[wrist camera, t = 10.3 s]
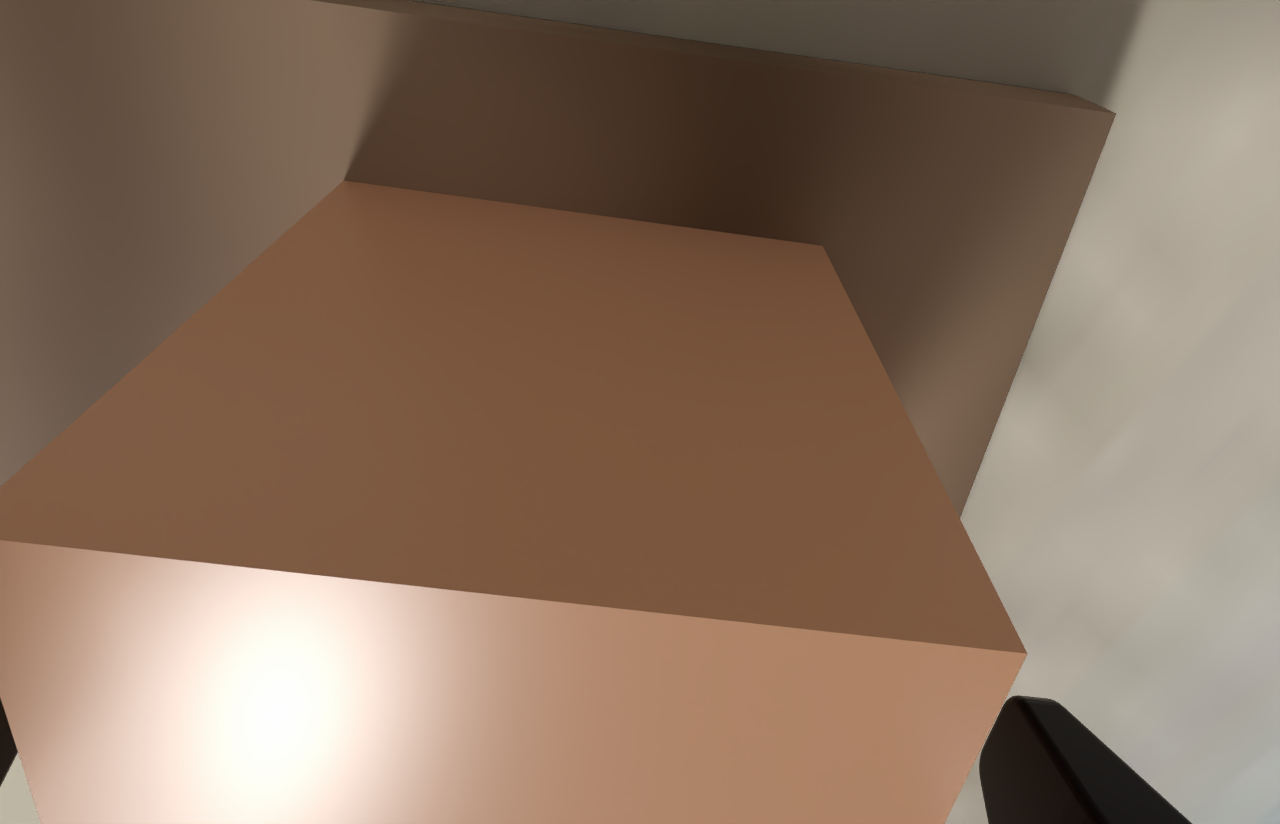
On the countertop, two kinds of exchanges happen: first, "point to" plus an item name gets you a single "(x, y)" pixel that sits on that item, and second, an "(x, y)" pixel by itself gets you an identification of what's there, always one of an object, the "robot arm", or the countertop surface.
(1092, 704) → the countertop surface
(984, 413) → the board
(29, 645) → the tan copper cube
